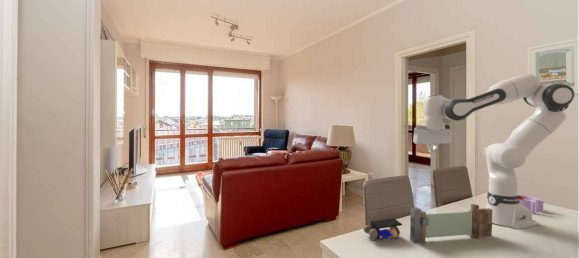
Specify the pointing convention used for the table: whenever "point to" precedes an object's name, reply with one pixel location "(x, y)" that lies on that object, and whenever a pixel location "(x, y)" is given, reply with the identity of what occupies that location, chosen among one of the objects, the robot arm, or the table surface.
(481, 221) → the wooden hinge block
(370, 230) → the figurine character
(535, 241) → the table surface
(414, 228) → the latch post
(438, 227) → the gate
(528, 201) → the clip
